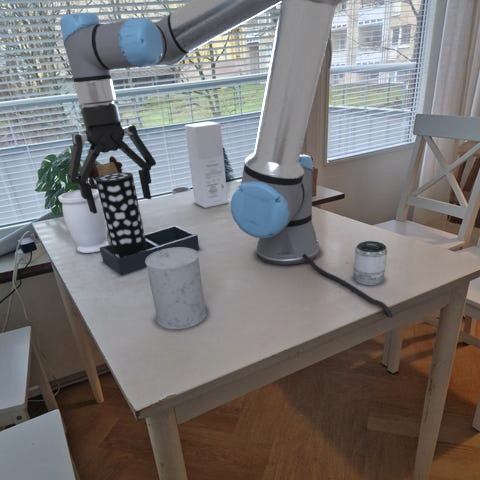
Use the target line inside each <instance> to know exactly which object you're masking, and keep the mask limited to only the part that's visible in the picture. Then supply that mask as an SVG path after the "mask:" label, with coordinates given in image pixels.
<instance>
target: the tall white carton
mask: <svg viewBox="0 0 480 480" xmlns="http://www.w3.org/2000/svg"><path fill="white" fill-rule="evenodd" d="M184 131H185V138H186V146H187V147H186V148H187V154H188V155H187V156H188V163H189V170H190V178H191V187H192V194H193V201H194V203H195V204H197V205H198V206H200V207H202V208H204V209H207V208H211V207H216V206H220V205H224V204H228V203H229V202H228V201H229V200H228V189H227V178H226V167H225V166H226V165H225V156H224V146H223V135H222V134H223V133H222V124H221V123H220V122H215V121H203V122H196V123H189V124H184Z"/></svg>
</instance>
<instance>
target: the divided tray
mask: <svg viewBox="0 0 480 480" xmlns="http://www.w3.org/2000/svg"><path fill="white" fill-rule="evenodd" d="M144 234H145V239H146V244H147V249H148V250H145V251H142V252H138V253H135V254H132V255H129V256H126V257H123V258H120V259H119V258H118V257H116V256H115V255H114V254H113V250H112V245H111V243H109V245H107V246H104V247H100V251H99V253H100V256H101V259H102V262H103V264H105V265H106V266H108V267H109V268H110V269H111V270H113V272H116V274H118V275H119V276H121V277H122V276H125V275H128V274H131V273H134V272H137V271H140V270H142V269H147V265H146V263H145V260H146V258H147V257H148V256H149V255H150V254H152V253H154V252H157V251H159V250H163V249H167V248H174V247H185V248H191V249H194V250H195V251H199V250H200V244H199V236H198V234H196V233H194V232H192V231H190V230H187V229H185V228H183V227H181V226H178V225H176V224H175V225H172V226H168V227H165V228H162V229H161V228H160V229H158V230H154V231H151V232H147V233H144Z"/></svg>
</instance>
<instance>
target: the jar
mask: <svg viewBox="0 0 480 480" xmlns="http://www.w3.org/2000/svg"><path fill="white" fill-rule="evenodd" d="M91 190H92V194H93V198H94V201H95V205H96V209H97V213H95V214H94V213H92V212H90V209H89V206H88V202H87V199H84V198H82V196H81V193H80V189H76V190H71V191H67V192H65V193H62V194H60V195H58V197H57V199H58V201H59V202H60V203H61V208H62V215H63V220H64V223H65V225H66V228H67V229H68V231H69V233H70V236H71V238H72V239H73V241H74V242H75V244H76V245H77V247H76V248H77V251H78V252H79V253H82V254H93V253H98V252H100V247H104V246H107V245H110V242H109V241H108V240H107V238H108V229H107V225H106V221H105V217H104V213H103V209H102V204H101V200H100V198H99V197H100V196H99V192H98V190H97V189H91Z"/></svg>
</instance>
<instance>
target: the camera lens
mask: <svg viewBox="0 0 480 480" xmlns="http://www.w3.org/2000/svg"><path fill="white" fill-rule="evenodd" d="M387 256H388V248H387V246H386V244H384V243H383V242H379V241H374V240H365V241H361V242H359V243H358V244H357V245H356V246H355V248H354V263H353V276H354V281H355V282H356V283H358V284H361V285H364V286H376V285H379V284H381V283H382V282H383V279H384V277H385V274H386V266H387Z"/></svg>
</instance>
